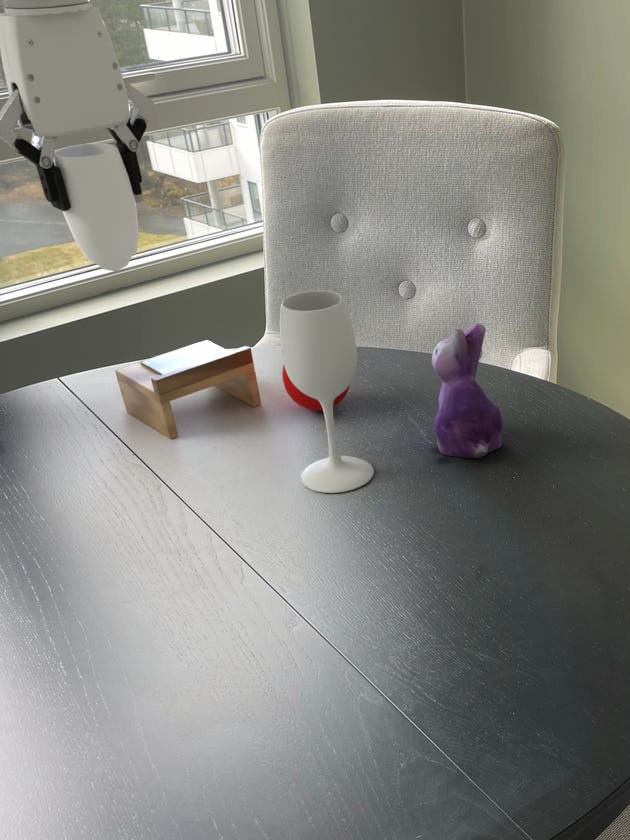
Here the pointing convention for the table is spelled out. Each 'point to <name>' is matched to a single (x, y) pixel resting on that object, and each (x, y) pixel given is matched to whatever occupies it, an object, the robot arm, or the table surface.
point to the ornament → (305, 399)
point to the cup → (99, 203)
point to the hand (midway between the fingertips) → (97, 198)
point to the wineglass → (322, 376)
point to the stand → (185, 381)
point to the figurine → (464, 398)
